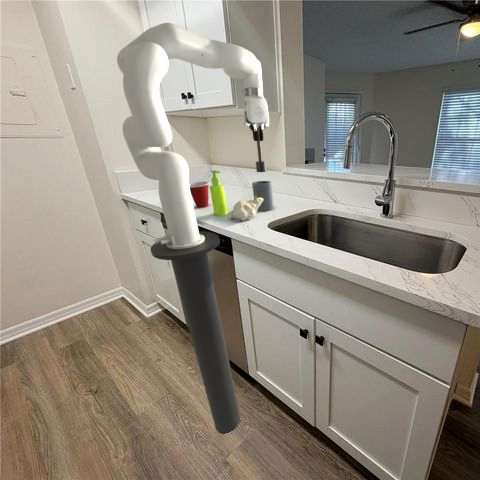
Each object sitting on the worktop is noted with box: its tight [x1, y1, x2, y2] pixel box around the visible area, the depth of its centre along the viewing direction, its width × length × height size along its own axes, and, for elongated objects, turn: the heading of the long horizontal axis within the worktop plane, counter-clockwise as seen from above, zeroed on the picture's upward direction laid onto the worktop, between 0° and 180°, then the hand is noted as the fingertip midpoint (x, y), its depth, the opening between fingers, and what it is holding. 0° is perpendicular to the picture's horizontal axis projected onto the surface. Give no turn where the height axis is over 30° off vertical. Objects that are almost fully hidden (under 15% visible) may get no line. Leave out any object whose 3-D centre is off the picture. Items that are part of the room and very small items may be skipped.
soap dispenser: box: [209, 169, 229, 217], centre depth 118 cm, size 6×7×20 cm
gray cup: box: [251, 180, 274, 212], centre depth 127 cm, size 9×9×13 cm
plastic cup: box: [189, 181, 210, 209], centre depth 133 cm, size 11×11×12 cm
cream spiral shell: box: [226, 197, 264, 221], centre depth 114 cm, size 15×7×15 cm
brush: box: [255, 126, 267, 173], centre depth 118 cm, size 4×4×19 cm
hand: (258, 140), depth 116 cm, fingers closed on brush
